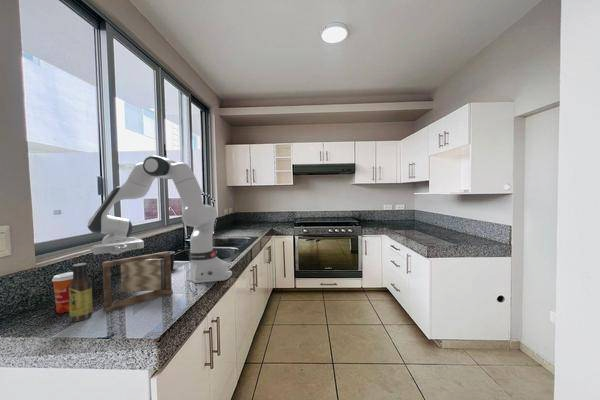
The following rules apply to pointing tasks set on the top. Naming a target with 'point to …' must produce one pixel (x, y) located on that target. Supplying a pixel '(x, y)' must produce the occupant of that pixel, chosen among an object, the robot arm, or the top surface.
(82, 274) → the sauce bottle
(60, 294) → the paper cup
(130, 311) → the top surface
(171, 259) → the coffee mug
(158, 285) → the birch door
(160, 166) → the robot arm
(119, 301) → the brown wooden frame
